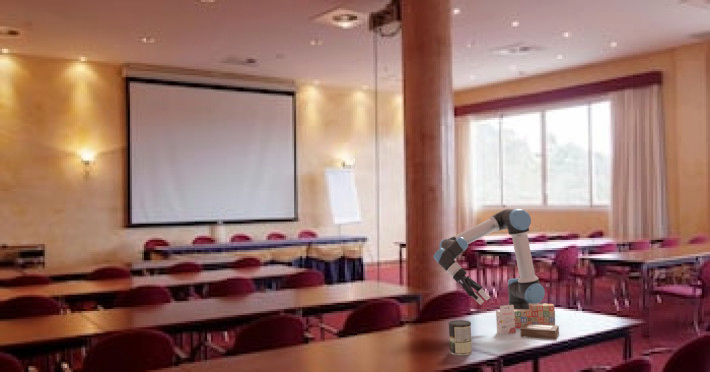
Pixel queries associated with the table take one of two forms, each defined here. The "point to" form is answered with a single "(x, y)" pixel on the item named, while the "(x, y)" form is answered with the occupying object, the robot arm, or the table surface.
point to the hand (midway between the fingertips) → (485, 301)
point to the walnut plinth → (540, 331)
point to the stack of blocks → (535, 315)
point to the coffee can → (460, 337)
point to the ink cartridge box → (505, 320)
